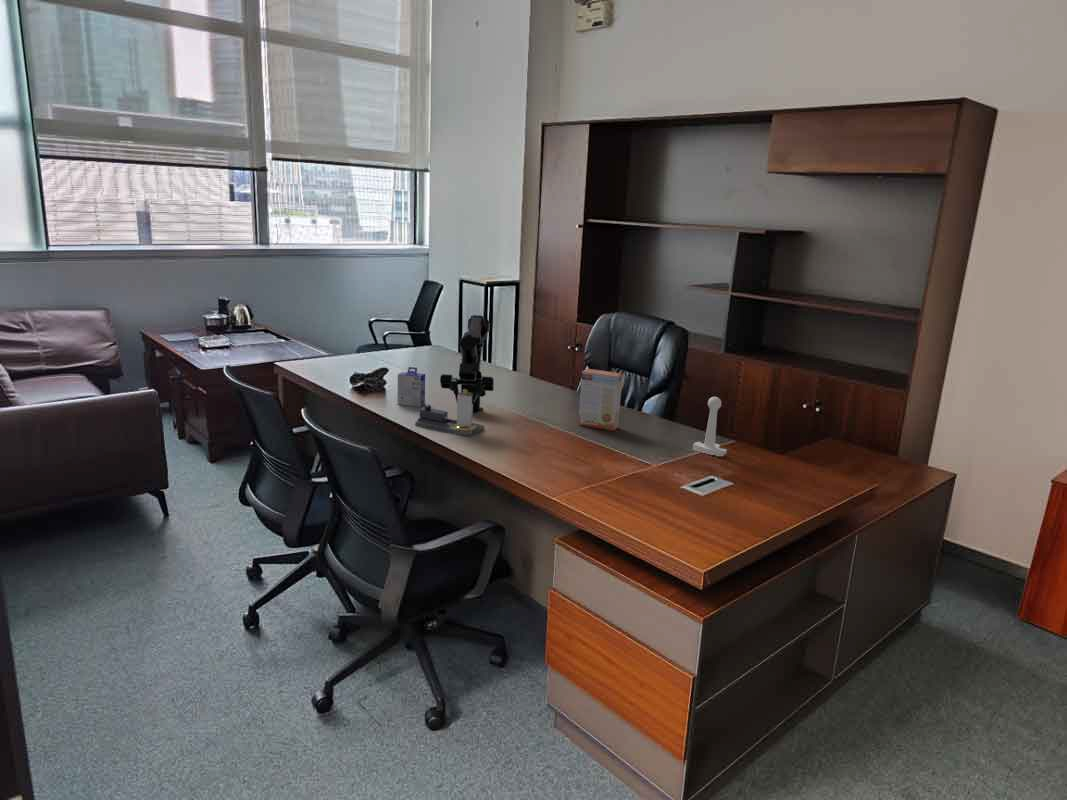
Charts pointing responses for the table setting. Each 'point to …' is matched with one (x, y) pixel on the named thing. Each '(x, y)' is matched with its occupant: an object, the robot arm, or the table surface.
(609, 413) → the cracker box
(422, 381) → the ink cartridge box
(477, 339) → the robot arm
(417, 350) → the table surface
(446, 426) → the press bed
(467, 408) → the housing
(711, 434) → the joystick
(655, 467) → the table surface
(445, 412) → the ram
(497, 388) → the table surface
